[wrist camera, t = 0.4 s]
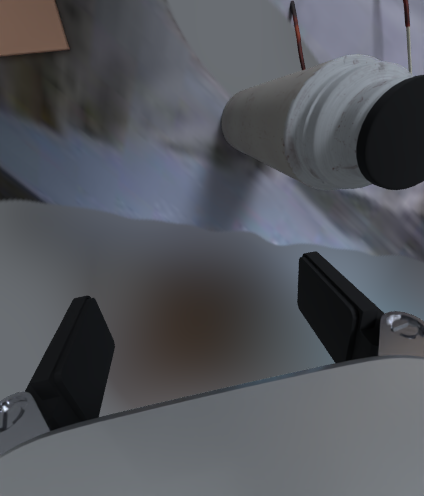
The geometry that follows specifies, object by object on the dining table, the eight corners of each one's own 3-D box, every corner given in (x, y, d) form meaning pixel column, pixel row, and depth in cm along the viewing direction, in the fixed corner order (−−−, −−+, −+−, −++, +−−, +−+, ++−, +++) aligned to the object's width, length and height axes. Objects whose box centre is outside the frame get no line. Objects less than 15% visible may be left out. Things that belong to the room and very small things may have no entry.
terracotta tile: (-44, -43, 25) (-49, -46, 25) (40, -49, 26) (37, -52, 25) (-3, 57, 29) (-6, 55, 28) (69, 49, 30) (68, 48, 29)
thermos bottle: (260, 75, 34) (508, -34, 9) (284, 130, 37) (509, 160, 13) (210, 112, 35) (310, 106, 10) (239, 162, 38) (363, 247, 14)
